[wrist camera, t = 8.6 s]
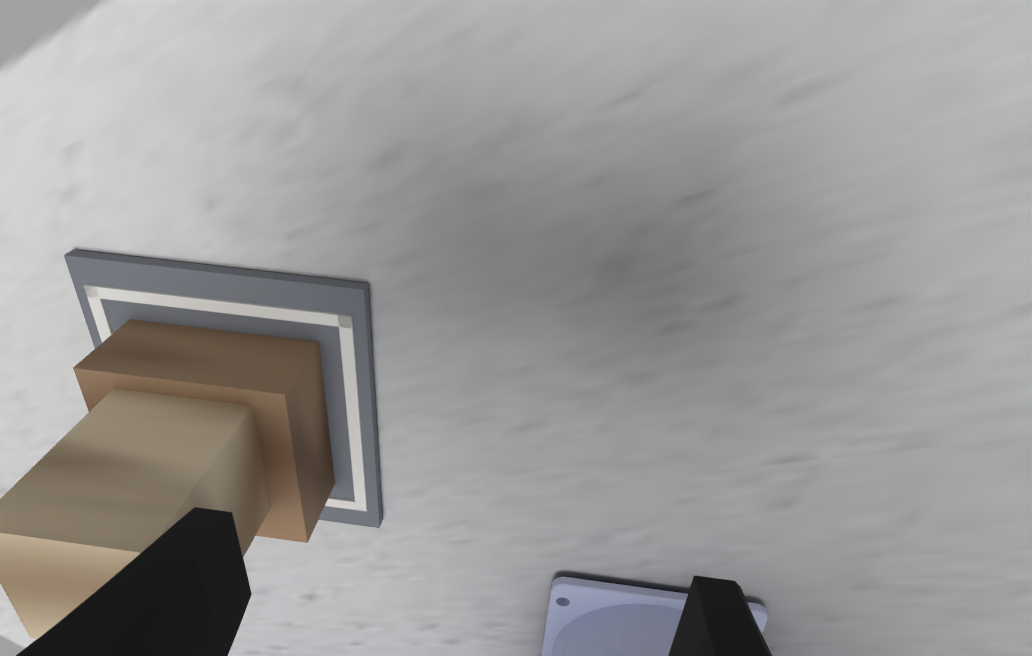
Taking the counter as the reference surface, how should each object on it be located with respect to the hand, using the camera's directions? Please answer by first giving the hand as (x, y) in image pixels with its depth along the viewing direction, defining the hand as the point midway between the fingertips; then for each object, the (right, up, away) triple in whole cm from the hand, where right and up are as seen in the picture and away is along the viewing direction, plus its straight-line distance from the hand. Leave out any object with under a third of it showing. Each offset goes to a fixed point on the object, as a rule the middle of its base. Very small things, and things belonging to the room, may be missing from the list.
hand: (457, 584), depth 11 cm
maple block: (-8, 0, +9) cm, 12 cm away
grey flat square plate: (-8, +2, +12) cm, 14 cm away
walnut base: (-8, +1, +11) cm, 14 cm away
